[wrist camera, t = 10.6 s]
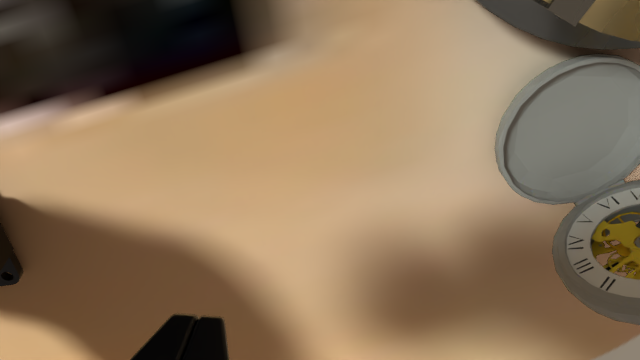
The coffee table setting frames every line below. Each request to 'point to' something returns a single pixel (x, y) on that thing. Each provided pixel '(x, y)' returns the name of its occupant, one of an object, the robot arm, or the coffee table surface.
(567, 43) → the dark grey round disc
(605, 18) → the tan round piece
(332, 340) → the coffee table surface
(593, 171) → the pocket watch
